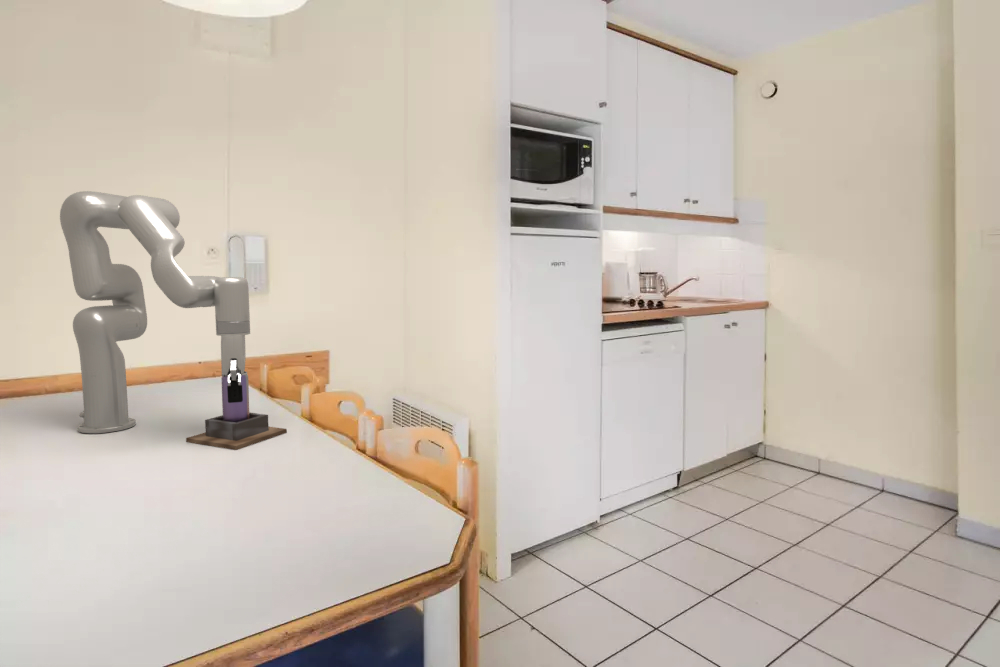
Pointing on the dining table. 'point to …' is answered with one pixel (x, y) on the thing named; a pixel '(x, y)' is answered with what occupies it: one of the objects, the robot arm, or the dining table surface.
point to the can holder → (236, 432)
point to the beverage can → (237, 409)
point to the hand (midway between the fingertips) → (236, 398)
